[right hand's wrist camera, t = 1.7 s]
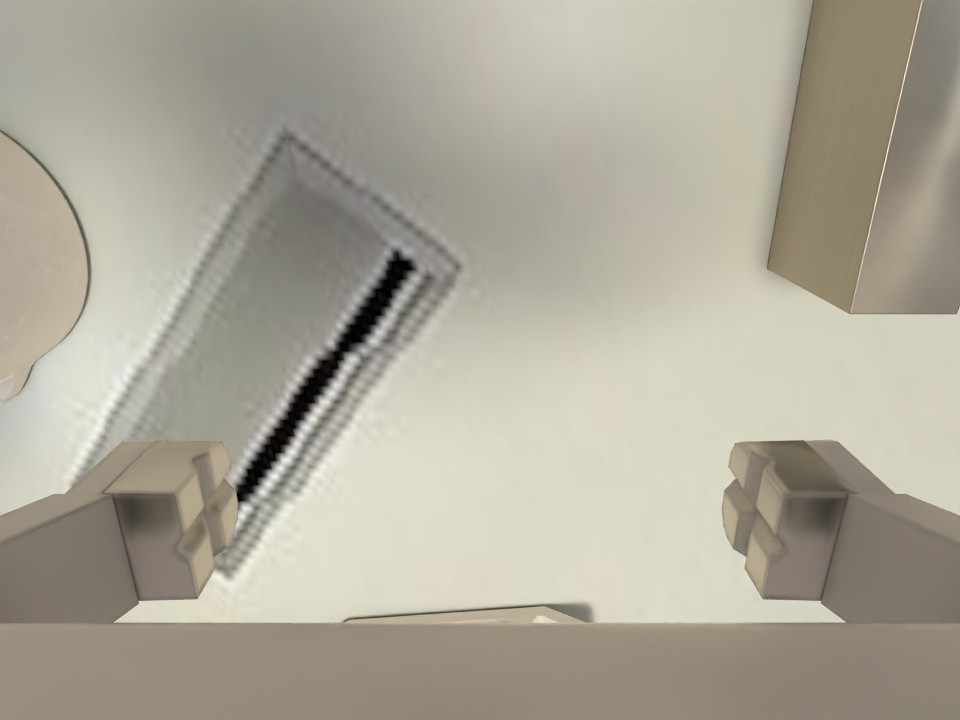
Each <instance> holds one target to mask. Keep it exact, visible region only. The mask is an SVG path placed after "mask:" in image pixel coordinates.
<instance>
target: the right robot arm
mask: <svg viewBox="0 0 960 720" xmlns="http://www.w3.org/2000/svg"><path fill="white" fill-rule="evenodd" d="M87 285H88V263H87V255H86V250H85V245H84V241H83V237H82V234H81V231H80V228H79V226H78V223H77V221H76V218H75V216H74V214H73V212H72V210H71V208H70V206H69V204H68V202H67V201H66V199H65V197H64V196H63V194H62V193H61V191H60V189H59V188H58V187H57V185H56V184H55V182H54V181H53V180H52V178H51V177H50V176H49V175H48V174H47V172H46V171H45V170H44V169H43V168H42V167H41V166H40V165H39V163H38V162H37V161H36V160H35V159H34V158H33V157H31V156H30V155H29V154H28V153H27V152H26V151H25V150H24V149H23V148H21V147H20V146H19V145H18V144H17V143H15V142H14V141H13V140H11V139H10V138H9V137H7V136H6V135H4V134H3V133H1V132H0V403H3V402H5V401H7V400H9V399H11V398H14V397H15V396H16V395H17V394H18V393H19V392H20V391H21V389H22V387H23V386H24V384H25V382H26V379H27V377H28V375H29V372H30V370H31V367H32V365H33V364H34V363H35V362H36V361H37V360H38V359H39V358H40V357H41V356H43V355H44V354H45V353H47V352H48V351H49V350H51V349H52V348H53V347H55V346H56V345H57V344H58V343H60V342H61V341H62V340H63V339H64V338H65V337H66V336H67V334H68V333H69V332H70V330H71V329H72V328H73V326H74V325H75V323H76V321H77V319H78V317H79V315H80V313H81V311H82V308H83V305H84V301H85V298H86V292H87ZM231 467H232V466H231V461H230V456H229V451H228V448H227V447H226V446H225V444H224V443H223V442H213V441H159V440H134V441H123V442H121V443H120V444H119V445H118V446H117V447H116V448H115V449H114V450H113V451H112V452H110V453H109V454H108V455H107V456H106V457H105V458H104V459H103V460H102V461H101V462H99V463H98V464H97V465H96V466H95V467H94V468H93V469H92V470H91V471H90V472H88V473H87V474H86V475H85V476H84V477H83V478H82V479H81V480H80V481H79V482H77V483H76V484H75V485H74V486H73V487H72V488H71V489H70V490H69V491H67V492H66V493H65V494H53V495H51V496H48V497H46V498H43V499H41V500H38V501H36V502H33V503H31V504H28V505H26V506H23V507H21V508H18V509H16V510H13V511H11V512H9V513H6V514H4V515H1V516H0V720H960V516H959V515H956V514H954V513H951V512H949V511H946V510H944V509H941V508H939V507H936V506H934V505H932V504H929V503H927V502H924V501H922V500H919V499H917V498H914V497H912V496H909V495H907V494H895V493H894V492H893V491H891V490H890V489H889V488H888V487H887V486H886V485H885V484H884V483H883V482H882V481H880V480H879V479H878V478H877V477H876V476H875V475H874V474H873V473H872V472H871V471H870V470H868V469H867V468H866V467H865V466H864V465H863V464H862V463H861V462H860V461H859V460H857V459H856V458H855V457H854V456H853V455H852V454H851V453H850V452H849V451H848V450H846V449H845V448H844V447H843V446H842V445H841V444H840V443H839V442H836V441H833V440H812V441H804V440H799V441H758V442H739V443H735V445H734V447H733V449H732V451H731V455H730V460H729V466H728V467H729V468H730V470H731V471H732V473H733V475H734V476H735V478H736V479H735V480H734V481H733V482H732V483H731V484H730V485H729V486H728V487H727V488H726V489H725V490H724V497H723V504H722V515H723V526H724V529H725V532H726V535H727V538H728V540H729V542H730V544H731V545H732V547H733V549H735V550H736V551H738V552H739V553H741V554H743V555H744V556H746V557H747V558H746V563H745V570H746V571H747V573H748V575H749V577H750V578H751V580H752V582H753V583H754V585H755V587H756V588H757V590H758V592H759V593H760V595H761V597H762V599H775V600H812V601H821V604H823V605H824V606H825V607H827V608H828V609H829V610H831V611H832V612H834V613H835V614H836V615H838V616H839V617H840V618H842V619H843V620H844V621H846V622H847V623H113V622H115V621H116V620H117V619H119V618H120V617H121V616H123V615H124V614H125V613H127V612H128V611H129V610H131V609H132V608H133V607H135V606H136V605H137V604H139V602H138V601H148V600H184V599H198V597H199V595H200V594H201V592H202V590H203V588H204V587H205V585H206V583H207V582H208V580H209V578H210V577H211V575H212V573H213V571H214V570H215V563H214V558H213V557H214V556H216V555H217V554H219V553H221V552H222V551H224V550H225V549H227V547H228V545H229V544H230V542H231V540H232V538H233V536H234V532H235V528H236V524H237V519H238V502H237V496H236V490H235V489H234V488H233V487H232V486H231V485H230V484H229V483H228V482H227V481H226V480H225V479H224V478H225V476H226V475H227V473H228V471H229V470H230V468H231Z"/></svg>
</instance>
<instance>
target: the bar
mask: <svg viewBox="0 0 960 720" xmlns="http://www.w3.org/2000/svg"><path fill="white" fill-rule="evenodd" d="M768 269H769V270H771V271H772V272H774V273H776V274H778V275H780V276H782V277H783V278H785V279H787V280H789V281H791V282H792V283H794V284H796V285H798V286H800V287H802V288H803V289H805V290H807V291H809V292H811V293H812V294H814V295H816V296H818V297H820V298H822V299H823V300H825V301H827V302H829V303H831V304H832V305H834V306H836V307H838V308H840V309H842V310H843V311H845V312H847V313H849V314H957V312H958V309H959V306H960V0H814V4H813V9H812V15H811V21H810V27H809V32H808V38H807V44H806V50H805V55H804V61H803V67H802V73H801V78H800V84H799V90H798V96H797V101H796V107H795V113H794V119H793V124H792V130H791V136H790V142H789V147H788V153H787V159H786V165H785V170H784V176H783V182H782V188H781V193H780V199H779V205H778V211H777V216H776V222H775V228H774V234H773V239H772V245H771V251H770V257H769V262H768Z"/></svg>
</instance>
